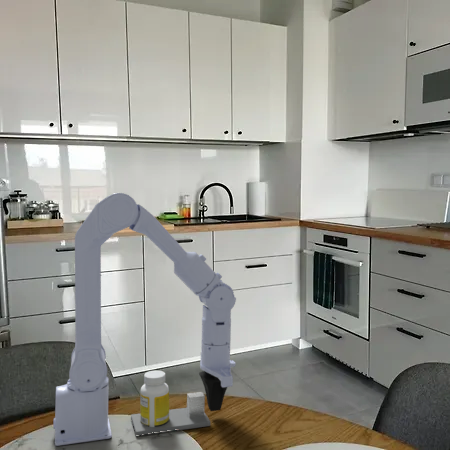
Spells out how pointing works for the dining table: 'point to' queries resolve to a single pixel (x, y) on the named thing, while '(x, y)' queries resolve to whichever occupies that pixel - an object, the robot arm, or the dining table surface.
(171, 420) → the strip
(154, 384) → the supplement bottle
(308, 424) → the dining table surface
